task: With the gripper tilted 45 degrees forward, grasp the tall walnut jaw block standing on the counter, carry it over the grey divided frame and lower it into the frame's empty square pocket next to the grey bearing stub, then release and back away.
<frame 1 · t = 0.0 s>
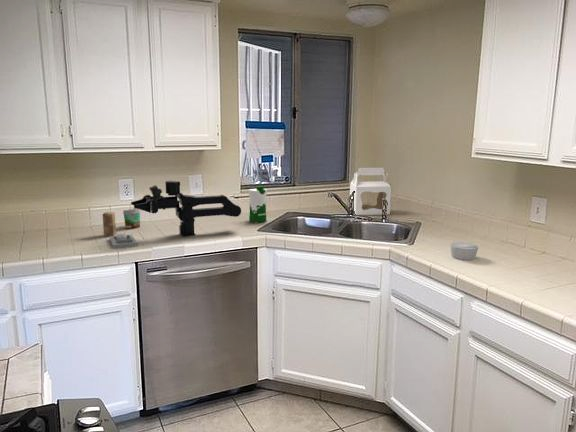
hand: (132, 204, 228), 17 cm above the worktop, tool horizontal, fingers open, 9 cm apart
ramekin: (463, 257, 205), on the worktop
walnut block: (110, 235, 239), on the worktop
milk carton: (257, 221, 275), on the worktop
gable box: (369, 213, 303), on the worktop
grey divided frame: (123, 242, 224), on the worktop
food container: (135, 227, 257), on the worktop
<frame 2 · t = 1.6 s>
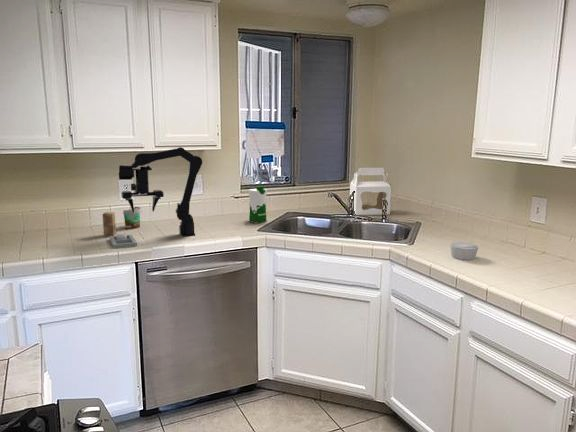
hand: (143, 212, 234), 12 cm above the worktop, tool pointing down, fingers open, 9 cm apart
nothing on the worktop moved.
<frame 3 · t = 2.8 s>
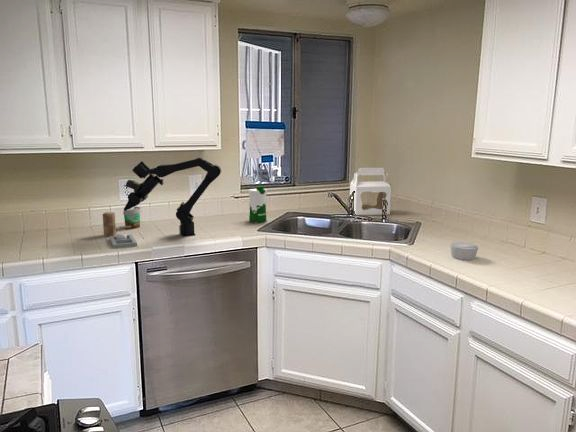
hand: (126, 208, 237), 13 cm above the worktop, tool tilted 45°, fingers open, 9 cm apart
nothing on the worktop moved.
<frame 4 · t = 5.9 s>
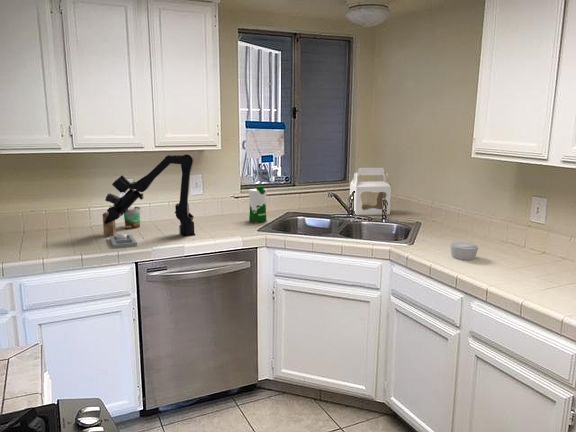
hand: (106, 222, 237), 7 cm above the worktop, tool tilted 45°, fingers closed on walnut block, 4 cm apart
walnut block: (110, 235, 239), on the worktop, touching gripper
everything else where it was.
when the fingers open (8 cm above the worktop, at t = 9.8 s): walnut block drops 2 cm, resting in grey divided frame.
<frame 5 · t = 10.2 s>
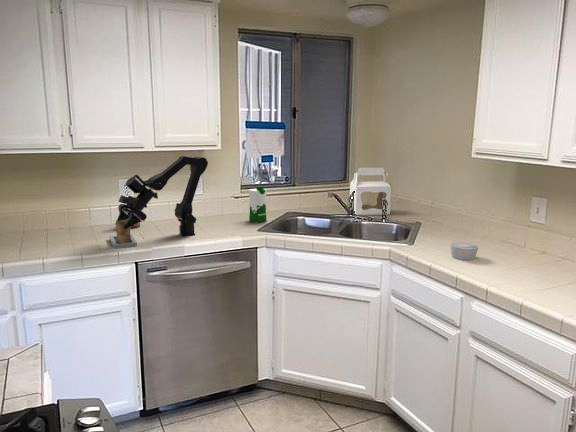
hand: (120, 226, 218), 9 cm above the worktop, tool tilted 45°, fingers open, 9 cm apart
walnut block: (124, 245, 221), resting in grey divided frame
everything else where it was.
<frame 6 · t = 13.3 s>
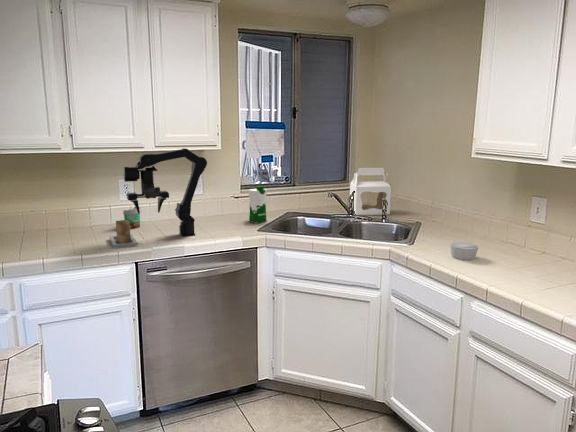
hand: (148, 213, 232), 12 cm above the worktop, tool pointing down, fingers open, 9 cm apart
nothing on the worktop moved.
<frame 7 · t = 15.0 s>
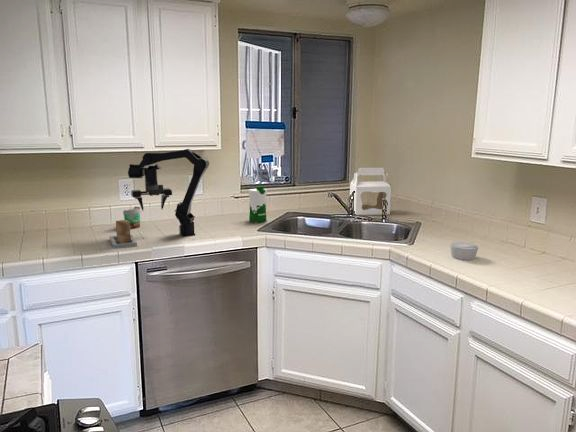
hand: (152, 210, 240), 12 cm above the worktop, tool pointing down, fingers open, 9 cm apart
nothing on the worktop moved.
at the end: walnut block 0.1 cm from the target spot, resting in grey divided frame; walnut block tilted 0°; the gripper is holding nothing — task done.
